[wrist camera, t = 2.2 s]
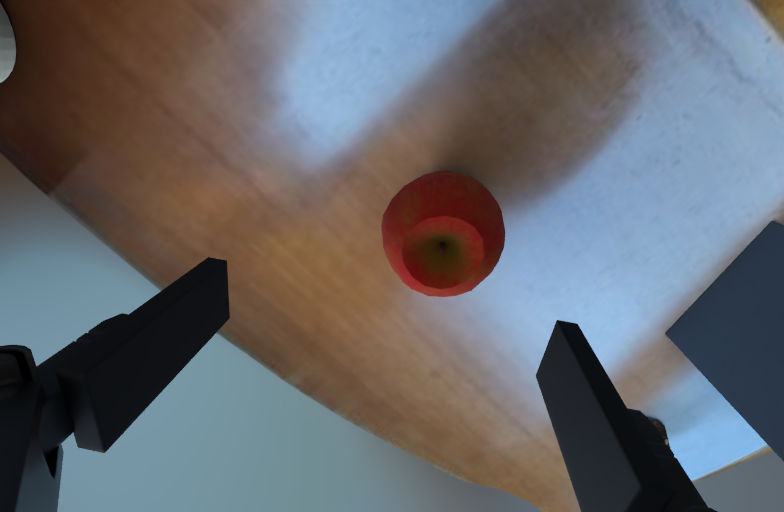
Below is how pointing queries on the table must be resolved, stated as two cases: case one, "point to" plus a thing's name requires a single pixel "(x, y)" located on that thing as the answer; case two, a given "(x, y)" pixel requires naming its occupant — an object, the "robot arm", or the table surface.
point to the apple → (443, 234)
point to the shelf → (744, 335)
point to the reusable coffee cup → (6, 46)
